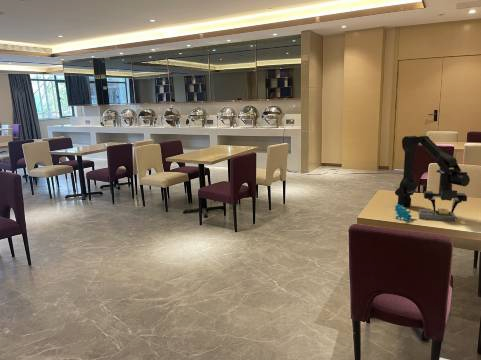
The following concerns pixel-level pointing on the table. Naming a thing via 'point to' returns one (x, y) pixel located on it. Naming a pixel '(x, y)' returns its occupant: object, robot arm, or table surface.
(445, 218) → the panel
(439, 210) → the wooden block
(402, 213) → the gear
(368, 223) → the table surface
